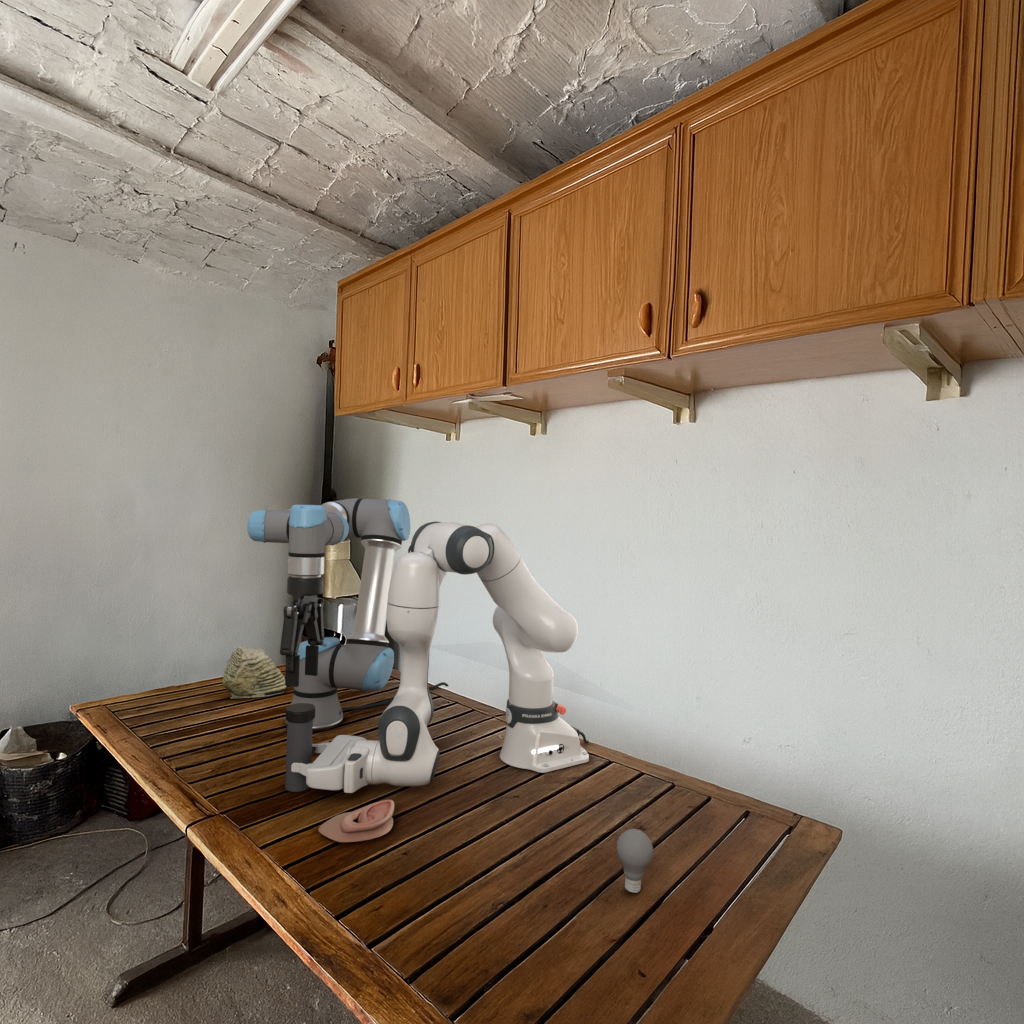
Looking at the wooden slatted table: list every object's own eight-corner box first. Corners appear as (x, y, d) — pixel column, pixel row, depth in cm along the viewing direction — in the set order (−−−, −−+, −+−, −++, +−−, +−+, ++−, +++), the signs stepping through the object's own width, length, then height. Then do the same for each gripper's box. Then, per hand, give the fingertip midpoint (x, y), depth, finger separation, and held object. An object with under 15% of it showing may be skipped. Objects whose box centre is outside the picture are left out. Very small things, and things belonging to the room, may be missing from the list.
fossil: (218, 695, 195) (220, 647, 195) (278, 685, 208) (279, 640, 207) (228, 703, 189) (230, 653, 188) (289, 692, 201) (290, 645, 201)
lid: (304, 711, 142) (305, 700, 142) (320, 718, 138) (321, 707, 138) (280, 717, 137) (280, 707, 137) (295, 725, 133) (296, 714, 133)
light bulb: (610, 879, 108) (613, 822, 108) (644, 879, 109) (647, 822, 109) (619, 902, 102) (622, 840, 102) (655, 901, 103) (658, 840, 103)
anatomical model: (310, 816, 117) (339, 789, 129) (309, 837, 117) (338, 808, 129) (377, 827, 115) (401, 798, 126) (376, 848, 115) (400, 818, 126)
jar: (301, 778, 142) (304, 703, 141) (315, 786, 138) (318, 709, 138) (280, 786, 138) (283, 709, 137) (293, 794, 134) (296, 715, 134)
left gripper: (312, 569, 148) (308, 666, 148) (263, 580, 128) (259, 692, 128) (342, 571, 147) (338, 669, 147) (298, 582, 126) (294, 696, 127)
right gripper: (377, 729, 147) (318, 726, 148) (350, 766, 127) (282, 761, 128) (375, 756, 148) (317, 752, 148) (349, 797, 127) (281, 792, 128)
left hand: (301, 680), depth 138 cm, fingers open, 8 cm apart
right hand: (301, 757), depth 138 cm, fingers open, 8 cm apart
